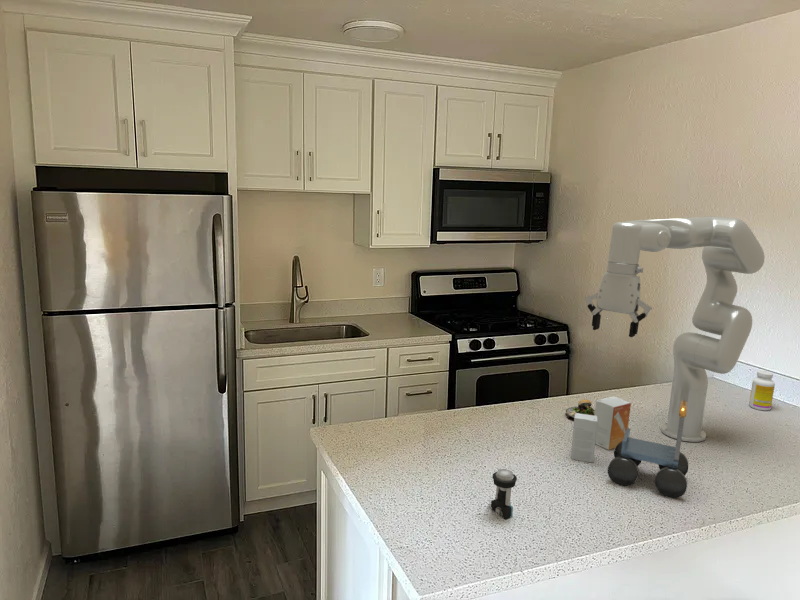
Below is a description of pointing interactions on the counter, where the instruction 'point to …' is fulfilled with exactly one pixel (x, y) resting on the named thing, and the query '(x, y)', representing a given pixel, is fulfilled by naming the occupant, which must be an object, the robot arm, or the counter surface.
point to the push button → (503, 493)
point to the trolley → (652, 461)
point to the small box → (611, 421)
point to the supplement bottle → (762, 391)
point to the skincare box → (584, 437)
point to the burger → (581, 409)
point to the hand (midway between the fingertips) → (613, 332)
